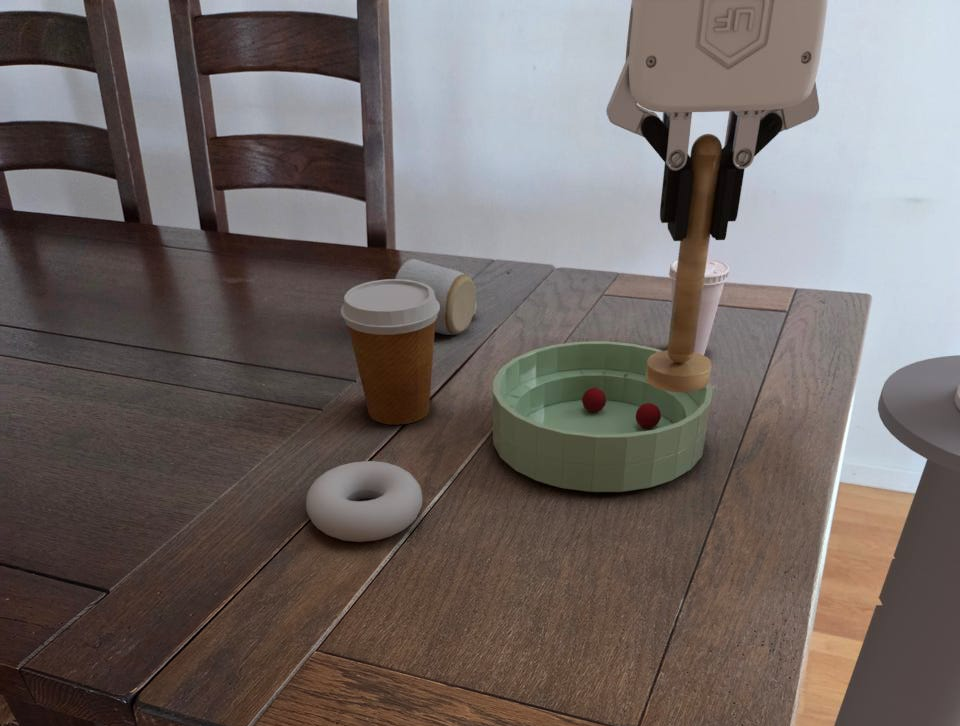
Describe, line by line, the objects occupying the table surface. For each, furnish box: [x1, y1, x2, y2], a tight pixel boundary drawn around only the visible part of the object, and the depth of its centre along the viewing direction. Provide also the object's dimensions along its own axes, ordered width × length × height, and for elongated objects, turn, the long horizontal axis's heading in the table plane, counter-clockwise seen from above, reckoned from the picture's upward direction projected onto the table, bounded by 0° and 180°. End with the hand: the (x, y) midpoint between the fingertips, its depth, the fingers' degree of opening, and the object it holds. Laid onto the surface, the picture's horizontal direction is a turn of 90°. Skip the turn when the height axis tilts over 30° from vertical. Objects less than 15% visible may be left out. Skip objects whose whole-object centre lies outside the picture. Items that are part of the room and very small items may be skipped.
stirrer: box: [646, 133, 723, 392], centre depth 57 cm, size 4×4×15 cm
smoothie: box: [668, 257, 730, 356], centre depth 97 cm, size 6×6×14 cm
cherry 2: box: [636, 403, 661, 429], centre depth 87 cm, size 2×2×2 cm
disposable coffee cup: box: [340, 278, 440, 426], centre depth 88 cm, size 10×10×12 cm
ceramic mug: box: [394, 258, 478, 336], centre depth 107 cm, size 11×8×8 cm
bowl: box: [492, 340, 714, 493], centre depth 84 cm, size 20×20×6 cm
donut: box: [305, 460, 423, 543], centre depth 76 cm, size 10×4×10 cm
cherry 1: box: [582, 388, 606, 412], centre depth 89 cm, size 2×2×2 cm
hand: (695, 231), depth 56 cm, fingers closed on stirrer
